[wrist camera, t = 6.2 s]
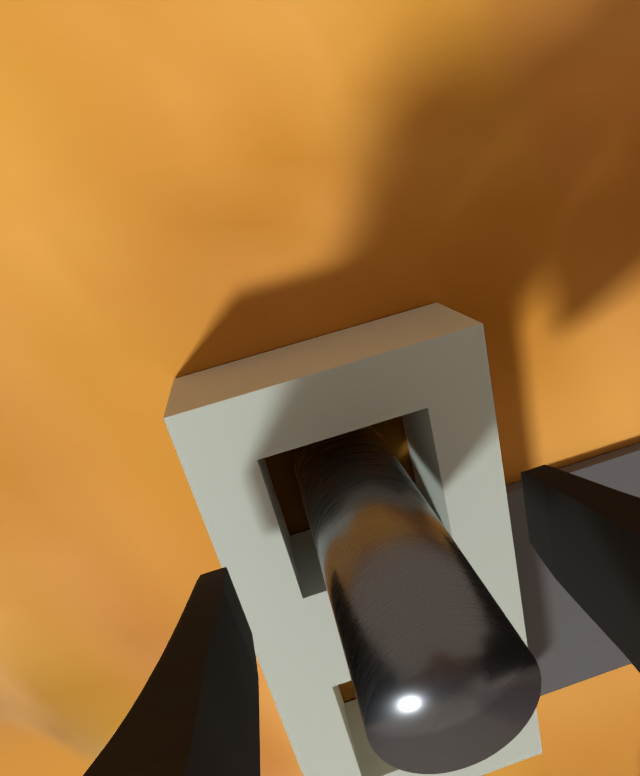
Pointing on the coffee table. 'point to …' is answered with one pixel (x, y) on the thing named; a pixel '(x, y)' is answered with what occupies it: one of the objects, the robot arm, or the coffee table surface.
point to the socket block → (297, 552)
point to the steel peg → (411, 613)
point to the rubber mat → (551, 601)
